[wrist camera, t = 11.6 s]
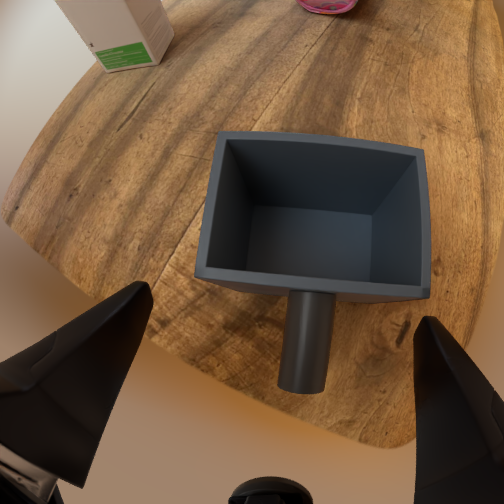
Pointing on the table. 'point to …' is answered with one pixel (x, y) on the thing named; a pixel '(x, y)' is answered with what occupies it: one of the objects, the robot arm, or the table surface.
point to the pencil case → (328, 5)
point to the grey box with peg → (315, 232)
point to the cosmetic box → (121, 30)
